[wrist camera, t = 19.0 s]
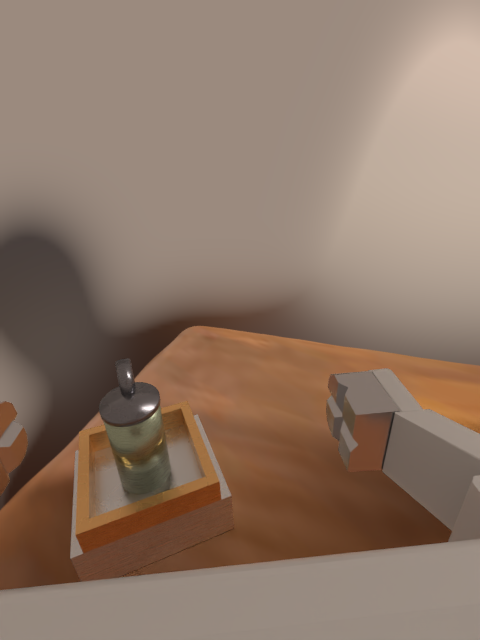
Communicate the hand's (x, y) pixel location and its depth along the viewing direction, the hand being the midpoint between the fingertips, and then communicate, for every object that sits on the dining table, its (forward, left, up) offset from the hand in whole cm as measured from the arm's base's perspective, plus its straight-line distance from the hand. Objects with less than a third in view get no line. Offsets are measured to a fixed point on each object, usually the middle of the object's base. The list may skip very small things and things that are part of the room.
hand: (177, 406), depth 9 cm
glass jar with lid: (+2, -19, -23) cm, 30 cm away
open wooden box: (+2, -21, -28) cm, 35 cm away
